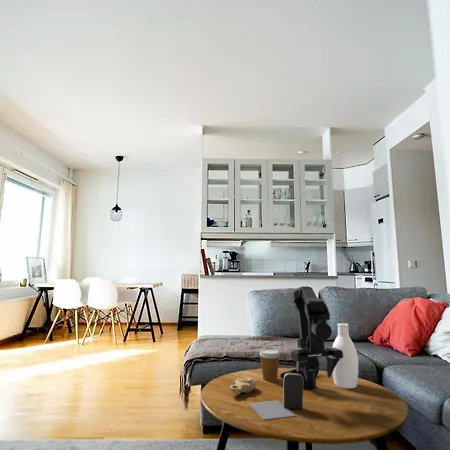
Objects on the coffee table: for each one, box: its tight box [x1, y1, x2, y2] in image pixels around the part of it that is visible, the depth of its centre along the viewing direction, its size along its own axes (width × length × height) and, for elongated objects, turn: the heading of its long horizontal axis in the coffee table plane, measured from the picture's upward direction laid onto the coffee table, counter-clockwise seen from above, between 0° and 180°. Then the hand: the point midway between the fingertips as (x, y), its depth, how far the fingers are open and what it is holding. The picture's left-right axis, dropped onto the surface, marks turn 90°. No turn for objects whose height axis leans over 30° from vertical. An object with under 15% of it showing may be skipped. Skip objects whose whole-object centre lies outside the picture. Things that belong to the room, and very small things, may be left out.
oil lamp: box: [229, 375, 258, 395], centre depth 134 cm, size 11×14×5 cm
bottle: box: [331, 322, 359, 390], centre depth 144 cm, size 11×11×25 cm
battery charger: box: [282, 372, 304, 410], centre depth 120 cm, size 7×4×11 cm, turn 87°
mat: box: [248, 399, 296, 421], centre depth 117 cm, size 12×14×1 cm
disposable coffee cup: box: [259, 348, 281, 382], centre depth 151 cm, size 10×10×12 cm
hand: (318, 378), depth 123 cm, fingers open, 9 cm apart
